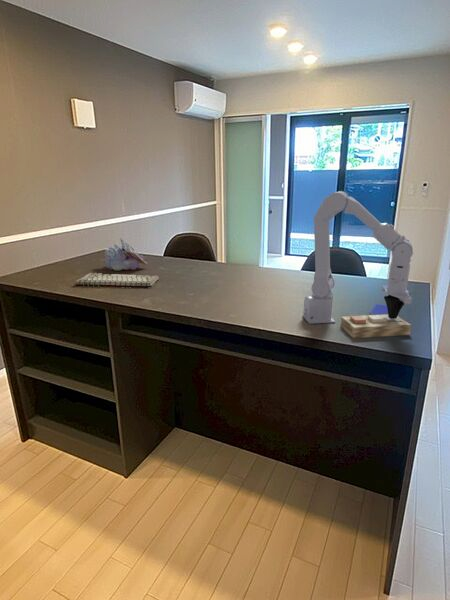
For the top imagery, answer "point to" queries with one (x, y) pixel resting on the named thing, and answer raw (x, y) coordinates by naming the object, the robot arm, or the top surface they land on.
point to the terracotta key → (358, 320)
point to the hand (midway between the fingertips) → (392, 318)
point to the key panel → (375, 327)
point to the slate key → (392, 320)
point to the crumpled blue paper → (122, 257)
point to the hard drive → (379, 310)
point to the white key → (375, 319)
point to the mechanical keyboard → (115, 281)
